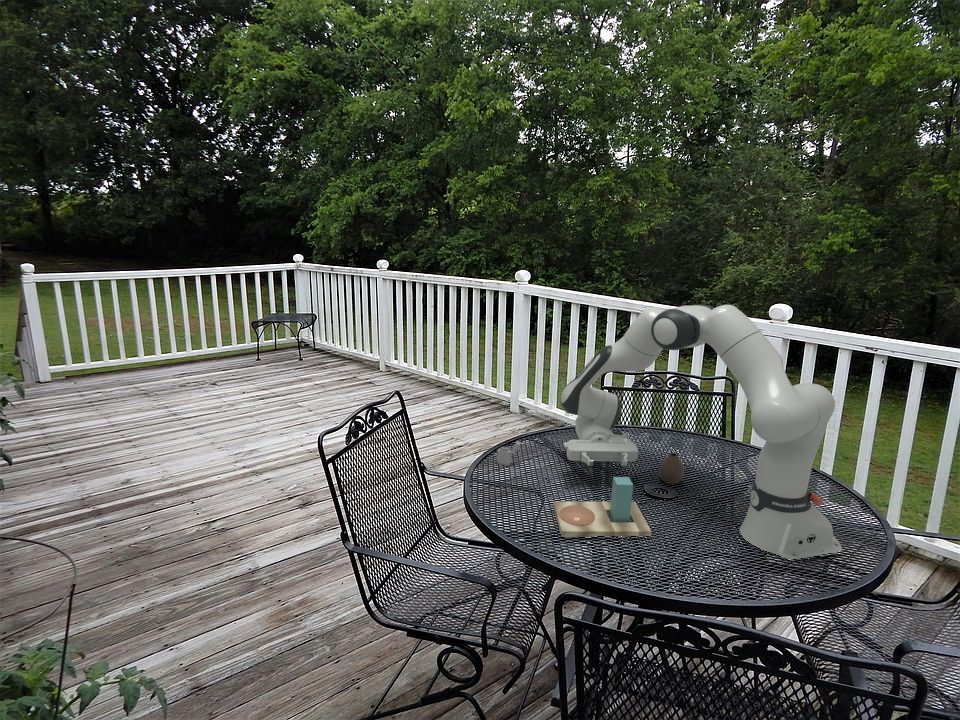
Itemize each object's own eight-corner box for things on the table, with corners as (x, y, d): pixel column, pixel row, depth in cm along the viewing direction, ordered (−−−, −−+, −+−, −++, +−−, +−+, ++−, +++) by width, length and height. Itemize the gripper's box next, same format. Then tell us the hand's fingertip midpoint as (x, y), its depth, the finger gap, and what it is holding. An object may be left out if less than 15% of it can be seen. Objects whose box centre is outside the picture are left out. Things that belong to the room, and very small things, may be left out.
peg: (624, 518, 149) (628, 477, 145) (628, 527, 145) (633, 484, 141) (609, 518, 148) (613, 477, 145) (613, 527, 145) (617, 484, 141)
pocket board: (634, 508, 153) (635, 501, 153) (650, 538, 140) (651, 531, 139) (553, 508, 153) (553, 501, 152) (561, 538, 139) (562, 531, 139)
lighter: (496, 463, 178) (497, 439, 175) (498, 460, 179) (499, 437, 177) (519, 466, 176) (519, 443, 173) (520, 464, 177) (521, 440, 175)
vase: (677, 489, 164) (681, 462, 161) (654, 482, 168) (657, 455, 165) (685, 480, 169) (689, 453, 166) (662, 473, 173) (666, 447, 170)
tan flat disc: (590, 506, 150) (590, 505, 150) (598, 525, 142) (598, 524, 141) (556, 506, 150) (556, 505, 150) (562, 525, 141) (562, 524, 141)
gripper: (562, 432, 170) (571, 452, 156) (631, 433, 170) (644, 453, 157) (561, 451, 172) (569, 473, 158) (628, 452, 172) (642, 474, 159)
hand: (607, 463), depth 158 cm, fingers open, 8 cm apart
